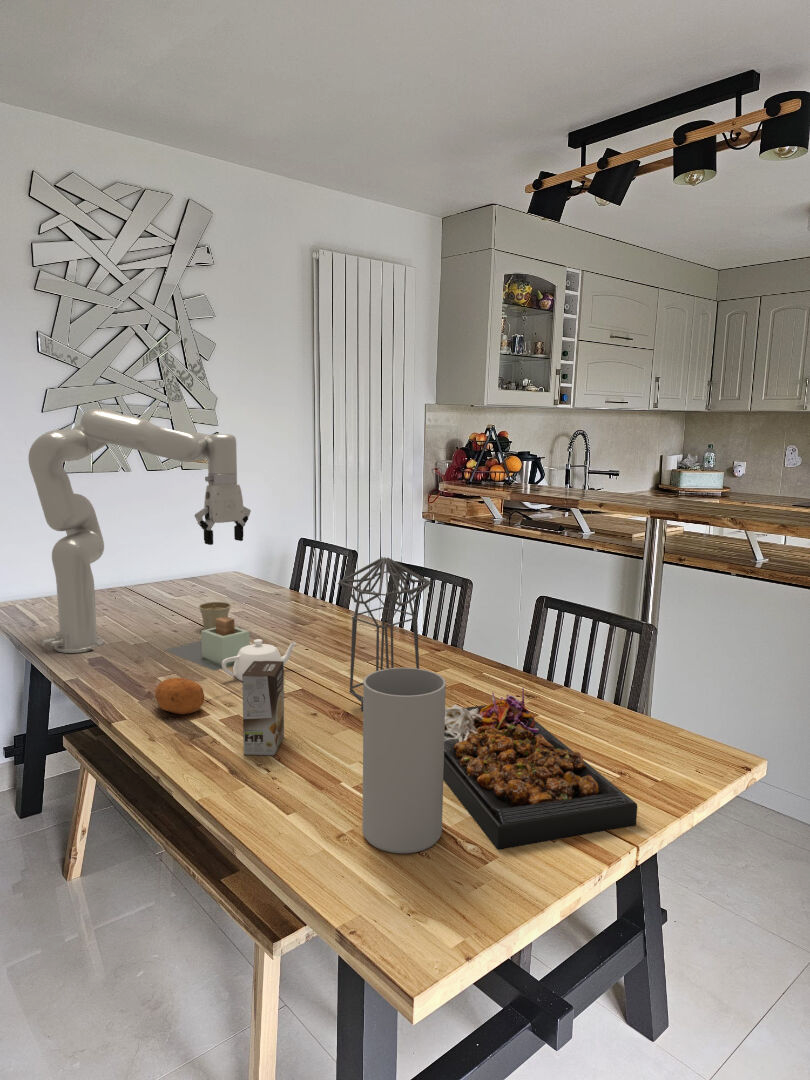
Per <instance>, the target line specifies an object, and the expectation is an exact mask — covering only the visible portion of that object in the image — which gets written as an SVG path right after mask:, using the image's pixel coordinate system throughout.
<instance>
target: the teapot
mask: <svg viewBox="0 0 810 1080" xmlns="http://www.w3.org/2000/svg"><path fill="white" fill-rule="evenodd" d="M253 643H254V644H250V645H247V646H244V647H242V648H241V649H240V650H239V652H238V654H237V656H234V657H230V658H226V659H224V660H223V661H222V669H221V670H222V671H224V672H225V674H227V675H229V676H230V677H234V678H236V679H237V680H238V681H240V682H243V678H242V675H243V673H244V672H245V671H246V670H247V669H248V667H249V666H250V665H251V664H252V663H253V661H283V662H284V666H285V665H286V664H287V663H288V661H289V659H290V657H291V654H292V652H293V649H294V647H295V646H296V645H297V643H296V642H290V644H289V646H288V648H287V650H286V652H285V654H284V655H283V656H281V653H280V652H279V649H278V648H277V647H276V646H275V645H272V644H268V643H263V639H260V638H256V639H254V640H253ZM230 661H235V663H234V665H232V667H233V668H232V670H230V669H228V667H226V663H227V662H230ZM232 671H233V672H232Z"/></svg>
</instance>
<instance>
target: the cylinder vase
mask: <svg viewBox="0 0 810 1080" xmlns="http://www.w3.org/2000/svg"><path fill="white" fill-rule="evenodd" d="M362 683H363V685H362V686H363V689H362V690H363V691H362V692H363V694H362V695H363V710H362V712H363V715H362V718H363V720H362V725H363V726H362V825H361V826H362V834H363V836H364V838H365V839H366V840H367V842H368V843H370V845H372V846H374V847H375V848H376V849H378V850H381V851H383V852H388V853H392V854H393V853H394V854H401V855H402V854H413V853H414V854H415V853H418V852H422V851H424V850H427V849H429V848H430V847H432V846H434V845H435V844H436V843H437V842H438V841H439V840H440V837H441V836H442V832H443V810H444V809H443V805H444V803H443V801H444V780H443V771H444V732H445V709H446V689H447V688H446V683H447V682H446V680H445V678H444V677H443V676H442V675H440V674H438V673H437V672H433V671H430V670H428V669H422V668H419V669H416V667H394V668H391V667H389V669H386V668H384V669H383V670H380V669H379V671H376V670H375V671H373V672H371V673H369V674H367V675H366V676H365V677H364V678H363V682H362Z"/></svg>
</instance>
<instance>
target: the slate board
mask: <svg viewBox="0 0 810 1080" xmlns="http://www.w3.org/2000/svg"><path fill="white" fill-rule="evenodd" d="M163 651H164V652H167V653H170V654H171V655H175V656H177V657H179V658H182V659H185V660H187V661H190V662H192V663H195V664H197V665H200V666H201V667H204V668H206V669H210V670H212V671H214V672H215V671H218V670H223V669H222V667H220V666H218V665H215V664H213V663H210V662H208V661H205V660H203V659H202V642H201V640H199V641H196V642H195V641H194V642H190V643H186V644H182V645H177V646H174V647H171V648H169V647H168V648H166V649H163ZM229 667H233V665H230V666H227V668H229Z"/></svg>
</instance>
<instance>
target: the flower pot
mask: <svg viewBox="0 0 810 1080" xmlns="http://www.w3.org/2000/svg"><path fill="white" fill-rule="evenodd" d="M231 607H232V604H231V603H229V602H225V601H211V602H210V601H209V602H205V603H201V604H199V605H198V609H199V610H200V613H201V618H202V622H203V623H202V624H203V630H206V629H211V628H215V627H216V619H217V618H221V617H228V618H229V612H230V609H231Z"/></svg>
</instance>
